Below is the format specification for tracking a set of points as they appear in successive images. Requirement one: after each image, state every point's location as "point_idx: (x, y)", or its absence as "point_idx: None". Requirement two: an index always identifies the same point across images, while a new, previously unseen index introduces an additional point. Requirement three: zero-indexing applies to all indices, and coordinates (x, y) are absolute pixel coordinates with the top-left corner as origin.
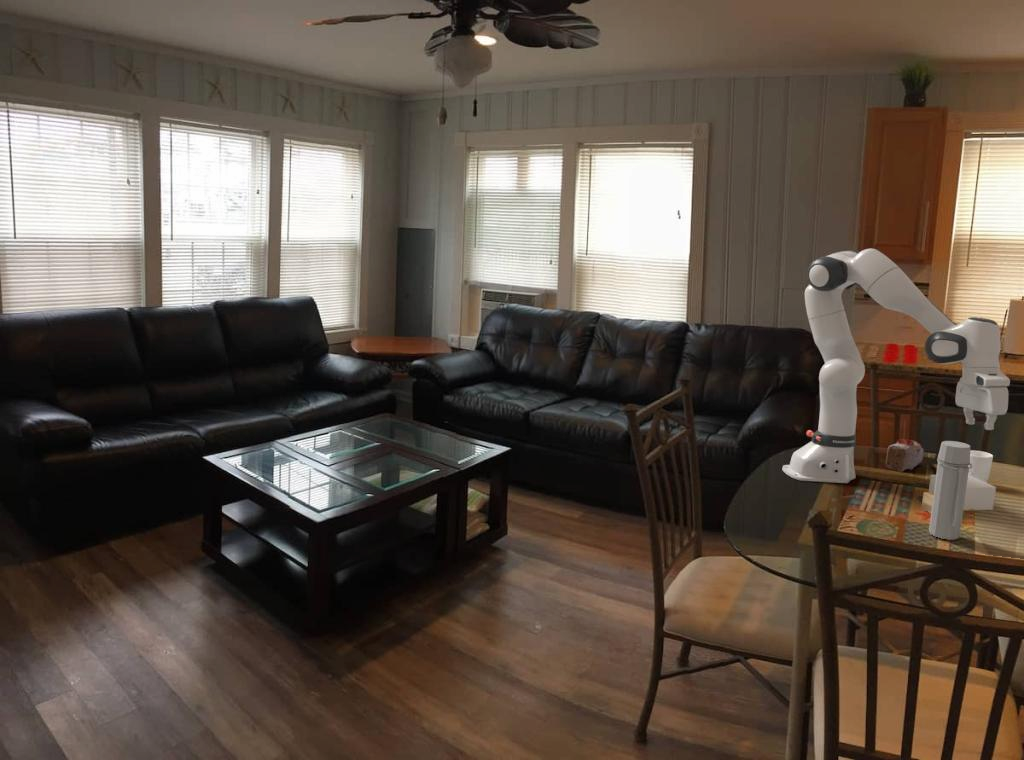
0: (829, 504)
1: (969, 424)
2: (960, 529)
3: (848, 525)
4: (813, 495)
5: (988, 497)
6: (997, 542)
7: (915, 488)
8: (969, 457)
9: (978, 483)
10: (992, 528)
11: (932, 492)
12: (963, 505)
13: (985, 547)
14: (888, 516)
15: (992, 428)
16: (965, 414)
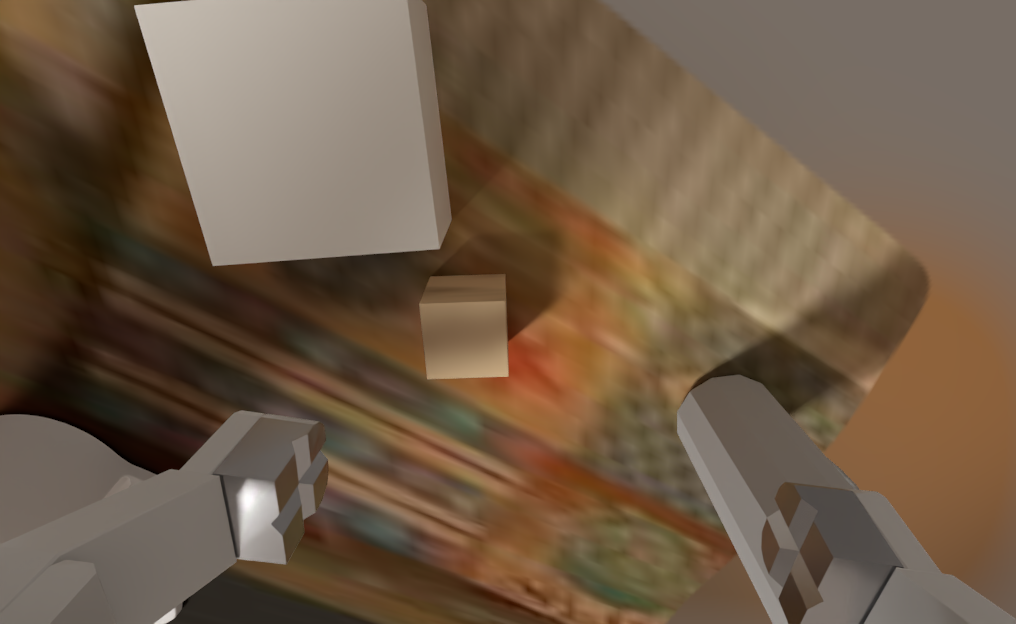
0: (421, 605)
1: (321, 471)
2: (774, 398)
3: (603, 619)
4: (337, 617)
5: (421, 37)
6: (807, 256)
7: (154, 233)
8: None
9: (338, 61)
10: (669, 180)
11: (428, 342)
12: (833, 465)
13: (838, 329)
14: (528, 491)
15: (879, 511)
16: (161, 609)
